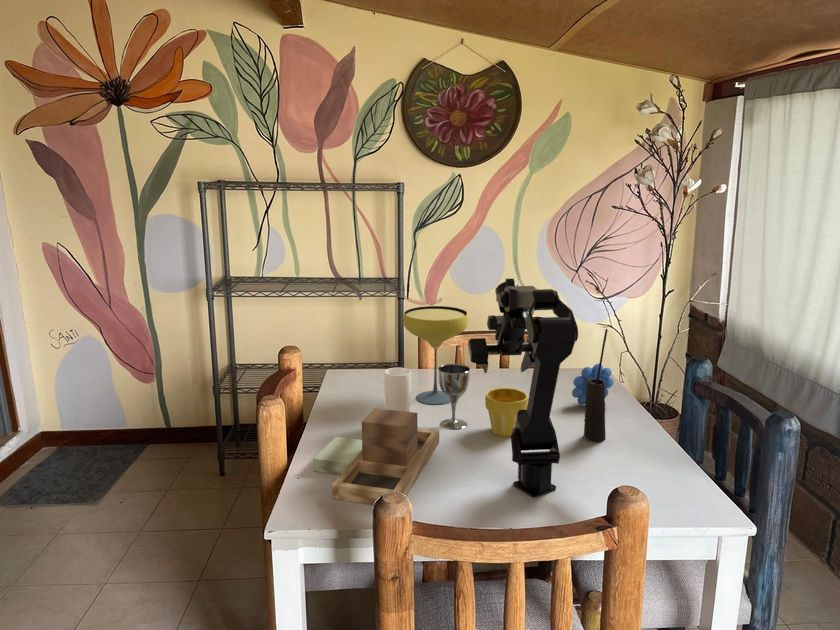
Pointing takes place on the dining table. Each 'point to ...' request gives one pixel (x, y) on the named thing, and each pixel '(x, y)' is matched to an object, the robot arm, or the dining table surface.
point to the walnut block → (389, 437)
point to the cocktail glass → (435, 337)
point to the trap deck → (371, 469)
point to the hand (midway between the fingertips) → (503, 371)
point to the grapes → (591, 375)
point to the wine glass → (453, 390)
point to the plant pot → (504, 409)
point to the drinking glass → (397, 389)
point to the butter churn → (595, 406)
